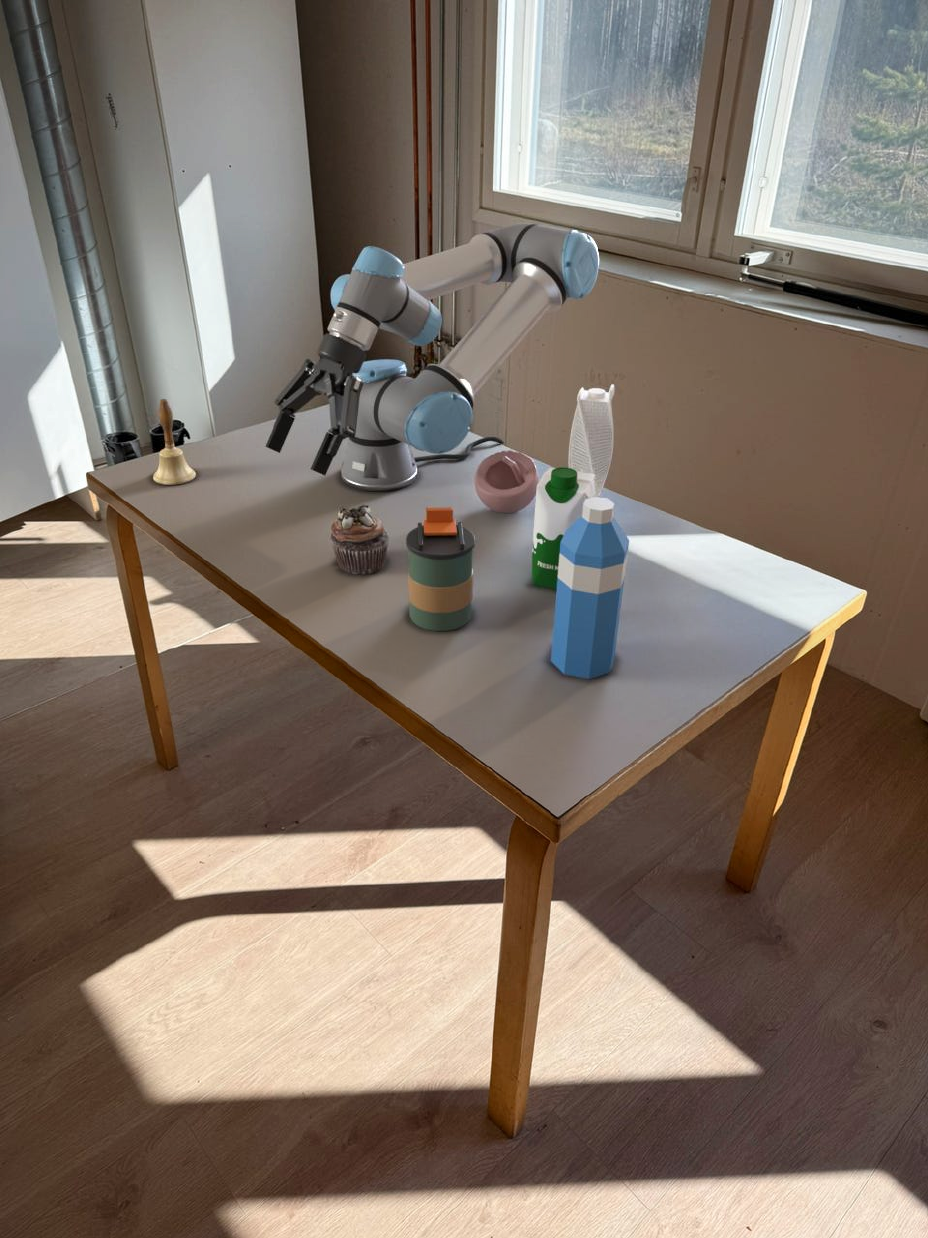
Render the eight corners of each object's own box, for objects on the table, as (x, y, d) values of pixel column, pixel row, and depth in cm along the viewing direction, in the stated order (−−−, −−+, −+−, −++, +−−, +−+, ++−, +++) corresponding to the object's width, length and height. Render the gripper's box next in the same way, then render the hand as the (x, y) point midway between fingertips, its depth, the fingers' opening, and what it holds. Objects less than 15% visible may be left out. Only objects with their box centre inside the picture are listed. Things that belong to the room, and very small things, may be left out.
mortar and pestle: (464, 517, 172) (465, 459, 166) (487, 492, 181) (488, 437, 175) (525, 529, 168) (528, 470, 162) (545, 503, 178) (549, 447, 171)
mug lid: (405, 528, 141) (405, 518, 140) (472, 527, 141) (472, 517, 140) (406, 560, 132) (406, 550, 131) (477, 559, 133) (477, 549, 132)
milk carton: (525, 586, 151) (532, 473, 140) (539, 561, 158) (547, 452, 147) (577, 596, 149) (589, 482, 138) (589, 570, 156) (601, 460, 145)
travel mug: (408, 598, 147) (406, 528, 141) (469, 597, 148) (471, 527, 141) (408, 632, 139) (407, 560, 132) (474, 631, 140) (476, 558, 133)
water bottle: (545, 643, 137) (557, 489, 124) (607, 640, 138) (625, 487, 124) (556, 680, 129) (570, 520, 116) (621, 677, 130) (642, 518, 117)
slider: (423, 522, 140) (423, 507, 138) (455, 521, 140) (455, 506, 139) (424, 535, 136) (424, 520, 135) (456, 535, 136) (456, 520, 135)
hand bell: (181, 465, 190) (169, 389, 182) (204, 476, 185) (192, 400, 177) (145, 476, 185) (131, 399, 176) (167, 489, 180) (153, 410, 172)
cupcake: (345, 582, 151) (342, 527, 146) (325, 556, 158) (321, 503, 153) (399, 569, 155) (397, 515, 150) (376, 545, 162) (374, 493, 157)
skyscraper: (613, 536, 166) (631, 385, 151) (580, 546, 163) (595, 392, 148) (586, 519, 172) (601, 371, 157) (554, 528, 169) (565, 378, 154)
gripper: (287, 318, 156) (238, 433, 158) (377, 347, 140) (320, 474, 143) (320, 337, 162) (271, 448, 164) (409, 367, 146) (354, 489, 148)
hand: (294, 461), depth 153 cm, fingers open, 13 cm apart
